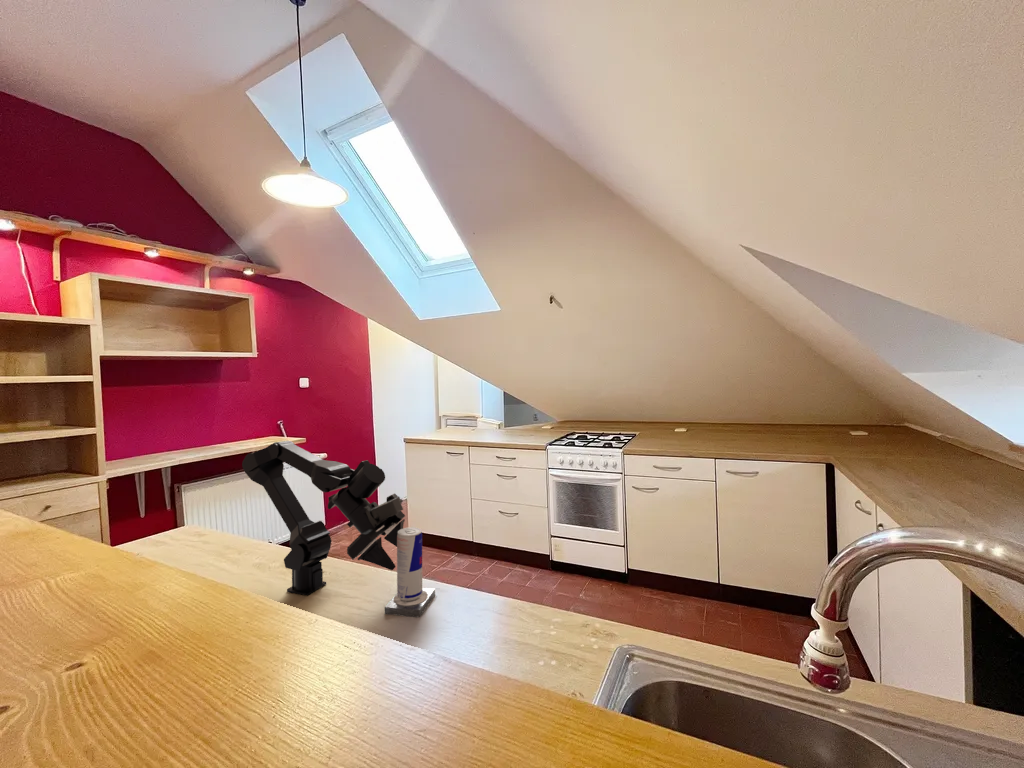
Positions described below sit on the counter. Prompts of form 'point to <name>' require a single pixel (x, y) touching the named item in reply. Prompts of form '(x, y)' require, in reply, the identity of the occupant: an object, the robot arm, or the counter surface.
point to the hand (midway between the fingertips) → (402, 560)
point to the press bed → (410, 604)
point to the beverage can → (409, 563)
